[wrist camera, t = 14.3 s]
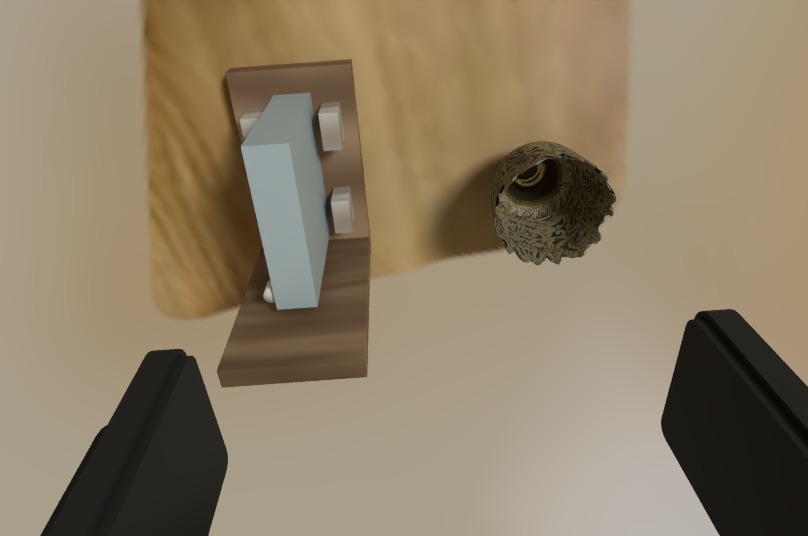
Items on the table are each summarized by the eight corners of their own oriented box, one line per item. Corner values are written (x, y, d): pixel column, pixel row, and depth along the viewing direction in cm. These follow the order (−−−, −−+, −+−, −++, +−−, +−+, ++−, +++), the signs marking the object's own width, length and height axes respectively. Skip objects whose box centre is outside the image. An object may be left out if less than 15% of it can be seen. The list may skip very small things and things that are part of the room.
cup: (546, 224, 43) (577, 279, 36) (460, 197, 42) (476, 248, 35) (594, 137, 40) (639, 180, 33) (502, 103, 38) (529, 141, 31)
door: (261, 96, 36) (224, 147, 27) (310, 92, 36) (288, 143, 27) (287, 231, 41) (263, 310, 32) (330, 228, 41) (317, 306, 32)
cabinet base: (230, 68, 36) (145, 146, 23) (351, 59, 36) (335, 133, 23) (270, 251, 44) (223, 391, 30) (371, 244, 44) (367, 381, 30)
